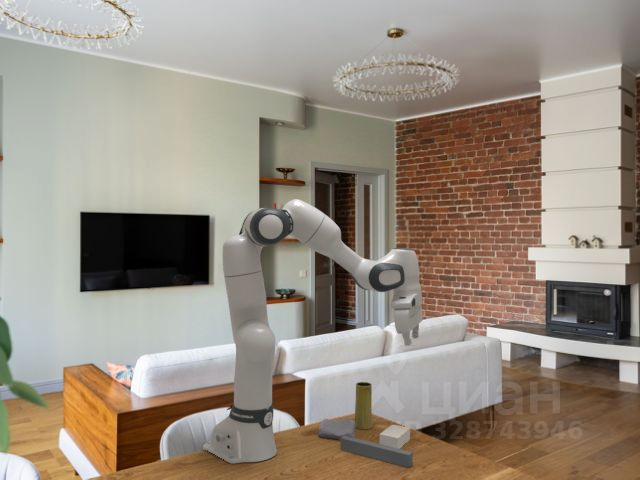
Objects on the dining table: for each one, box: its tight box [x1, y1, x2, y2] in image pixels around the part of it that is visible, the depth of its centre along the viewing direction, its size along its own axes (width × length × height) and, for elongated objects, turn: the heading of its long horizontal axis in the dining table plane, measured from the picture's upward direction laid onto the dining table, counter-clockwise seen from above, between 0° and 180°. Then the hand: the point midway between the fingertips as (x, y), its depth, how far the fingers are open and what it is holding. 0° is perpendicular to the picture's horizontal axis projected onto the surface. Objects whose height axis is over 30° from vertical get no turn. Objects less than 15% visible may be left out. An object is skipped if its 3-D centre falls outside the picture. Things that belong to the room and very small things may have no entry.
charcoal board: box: [340, 436, 414, 469], centre depth 158 cm, size 22×2×4 cm, turn 57°
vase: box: [354, 381, 373, 430], centre depth 183 cm, size 6×6×14 cm
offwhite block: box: [378, 423, 411, 449], centre depth 169 cm, size 6×10×4 cm, turn 150°
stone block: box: [318, 418, 356, 441], centre depth 176 cm, size 12×5×10 cm
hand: (412, 341), depth 174 cm, fingers open, 8 cm apart
